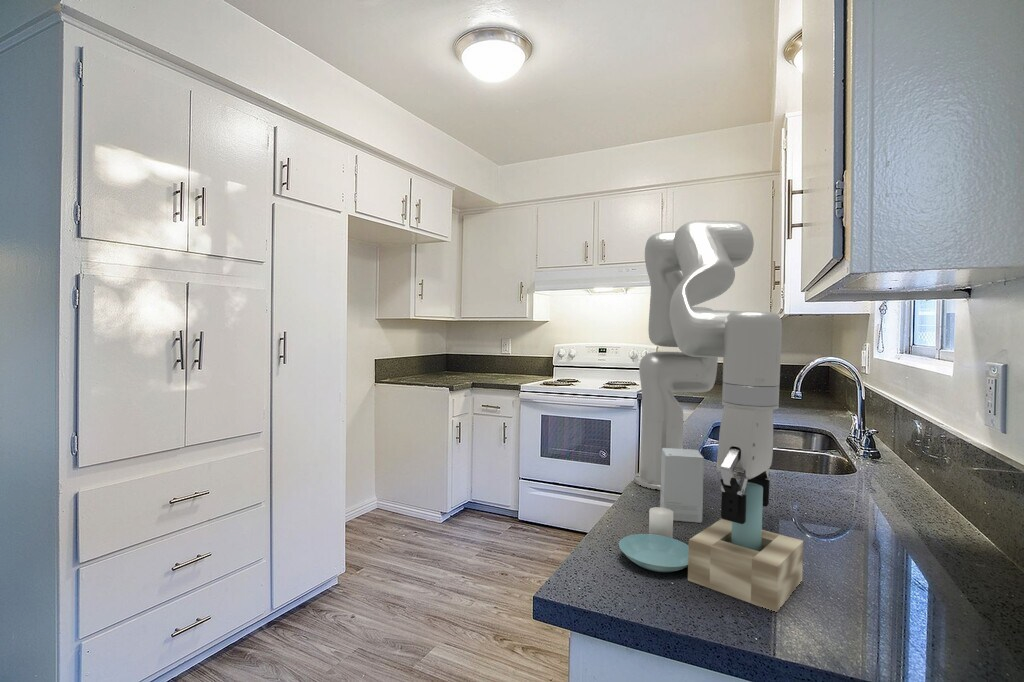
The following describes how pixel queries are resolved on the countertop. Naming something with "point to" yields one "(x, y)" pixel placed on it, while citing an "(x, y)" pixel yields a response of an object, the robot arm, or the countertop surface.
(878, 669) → the countertop surface
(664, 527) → the short off-white stub
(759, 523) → the teal dowel
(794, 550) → the birch hole block
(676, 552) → the saucer
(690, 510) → the supplement box
